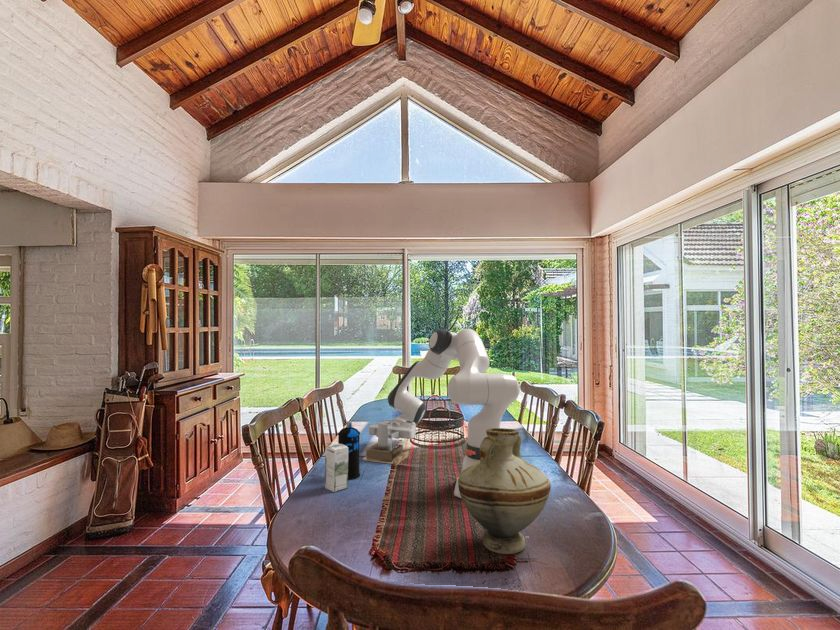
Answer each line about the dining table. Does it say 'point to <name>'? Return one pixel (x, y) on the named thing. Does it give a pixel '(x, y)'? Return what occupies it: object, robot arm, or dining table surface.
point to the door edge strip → (401, 458)
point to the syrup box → (336, 467)
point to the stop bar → (384, 436)
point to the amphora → (503, 491)
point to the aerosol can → (351, 448)
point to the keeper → (383, 454)
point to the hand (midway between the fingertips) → (384, 435)
